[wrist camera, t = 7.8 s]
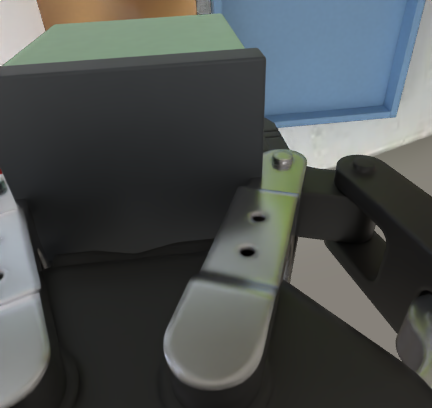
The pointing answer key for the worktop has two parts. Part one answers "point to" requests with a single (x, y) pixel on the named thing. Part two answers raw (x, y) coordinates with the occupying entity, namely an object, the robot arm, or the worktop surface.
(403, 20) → the tray
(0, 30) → the worktop surface
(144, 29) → the tub
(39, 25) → the worktop surface
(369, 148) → the worktop surface
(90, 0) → the dish rack
